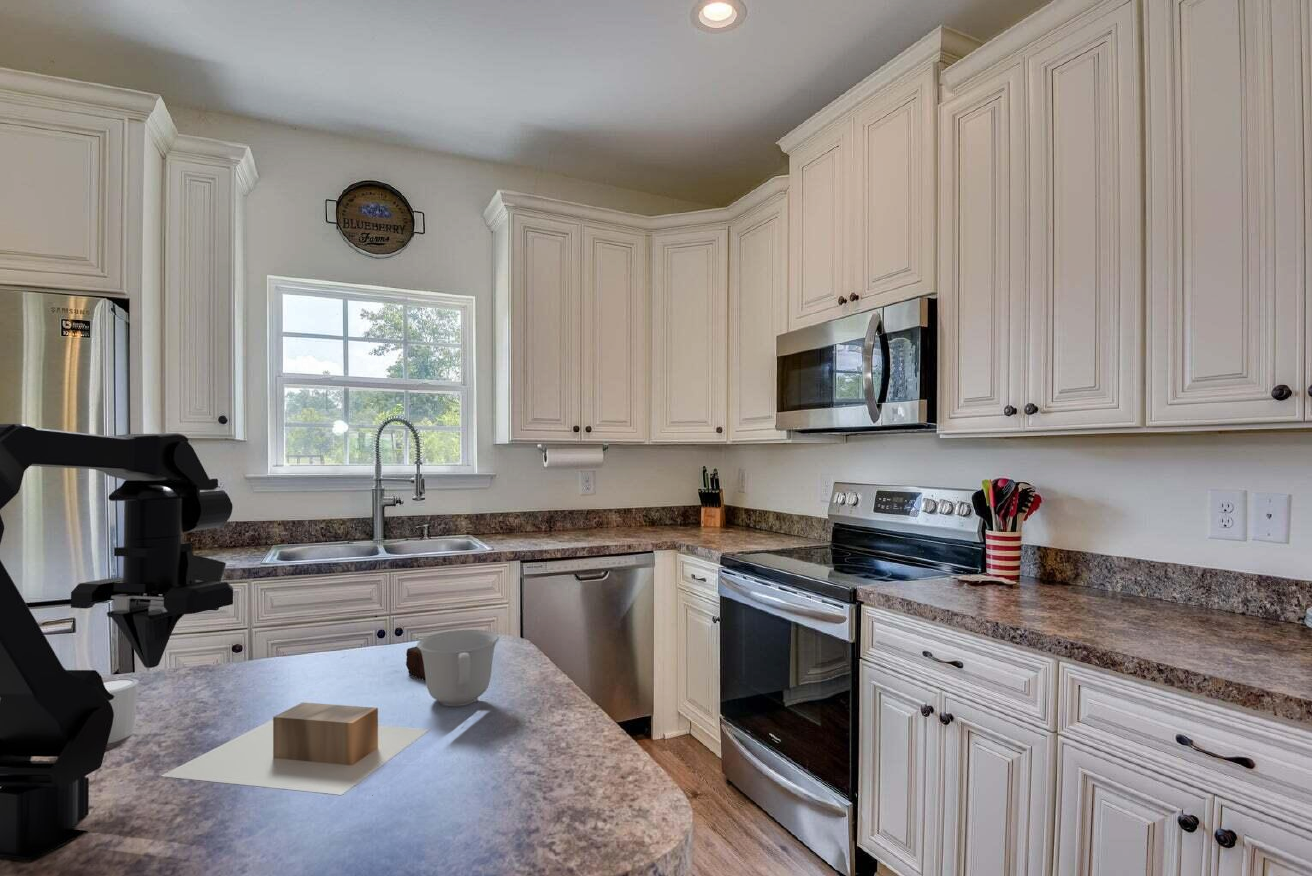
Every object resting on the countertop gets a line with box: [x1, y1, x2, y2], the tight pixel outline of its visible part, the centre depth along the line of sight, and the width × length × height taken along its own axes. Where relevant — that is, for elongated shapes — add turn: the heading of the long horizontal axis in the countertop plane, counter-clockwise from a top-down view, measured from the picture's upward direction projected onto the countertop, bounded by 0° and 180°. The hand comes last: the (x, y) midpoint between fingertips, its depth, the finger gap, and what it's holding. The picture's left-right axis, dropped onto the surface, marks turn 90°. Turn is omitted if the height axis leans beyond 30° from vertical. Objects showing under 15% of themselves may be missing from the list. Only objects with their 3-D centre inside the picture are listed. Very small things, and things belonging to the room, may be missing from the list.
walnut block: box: [272, 702, 379, 765], centre depth 85 cm, size 5×5×11 cm
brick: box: [405, 645, 426, 681], centre depth 117 cm, size 11×4×5 cm, turn 51°
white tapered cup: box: [103, 678, 140, 745], centre depth 93 cm, size 7×7×7 cm
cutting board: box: [160, 719, 431, 796], centre depth 85 cm, size 18×24×1 cm
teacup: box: [416, 629, 500, 707], centre depth 102 cm, size 12×15×10 cm
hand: (151, 666), depth 82 cm, fingers closed
